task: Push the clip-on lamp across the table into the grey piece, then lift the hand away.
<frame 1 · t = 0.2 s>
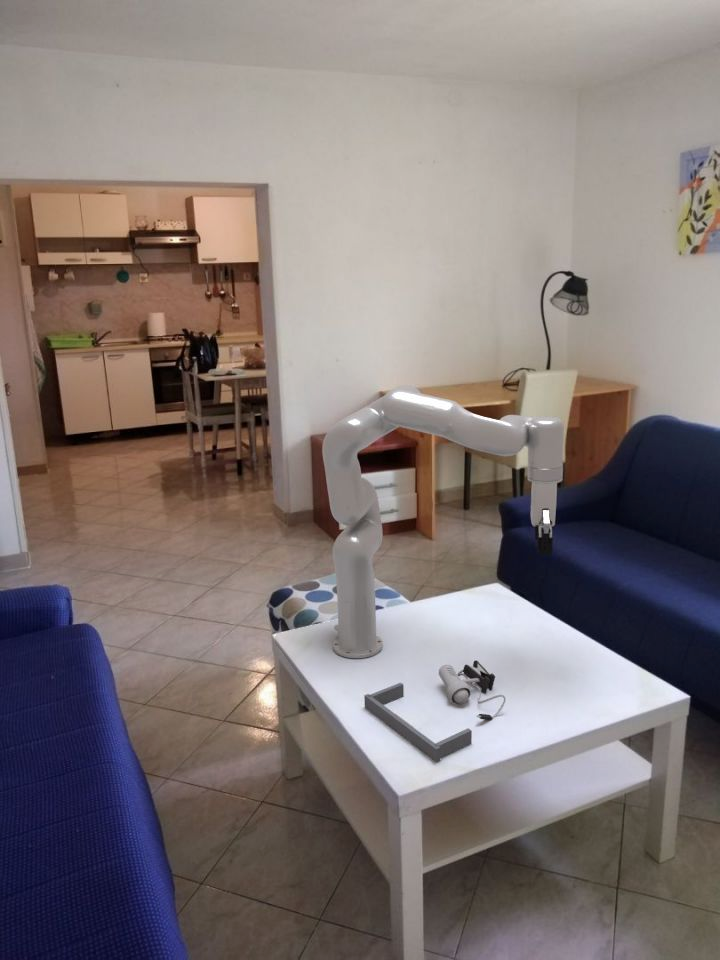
hand: (543, 546, 166), 30 cm above the table, tool pointing down, fingers open, 9 cm apart
grey piece: (430, 719, 154), on the table
clip-on lamp: (474, 702, 160), on the table
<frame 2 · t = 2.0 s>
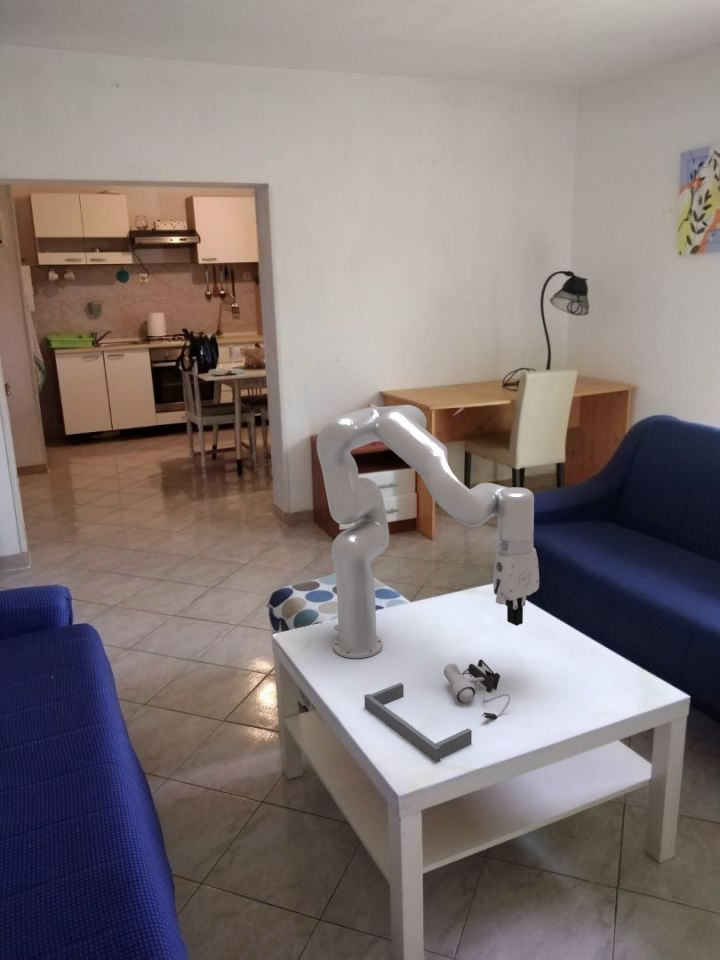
hand: (514, 622, 163), 15 cm above the table, tool pointing down, fingers closed
clip-on lamp: (478, 701, 161), on the table
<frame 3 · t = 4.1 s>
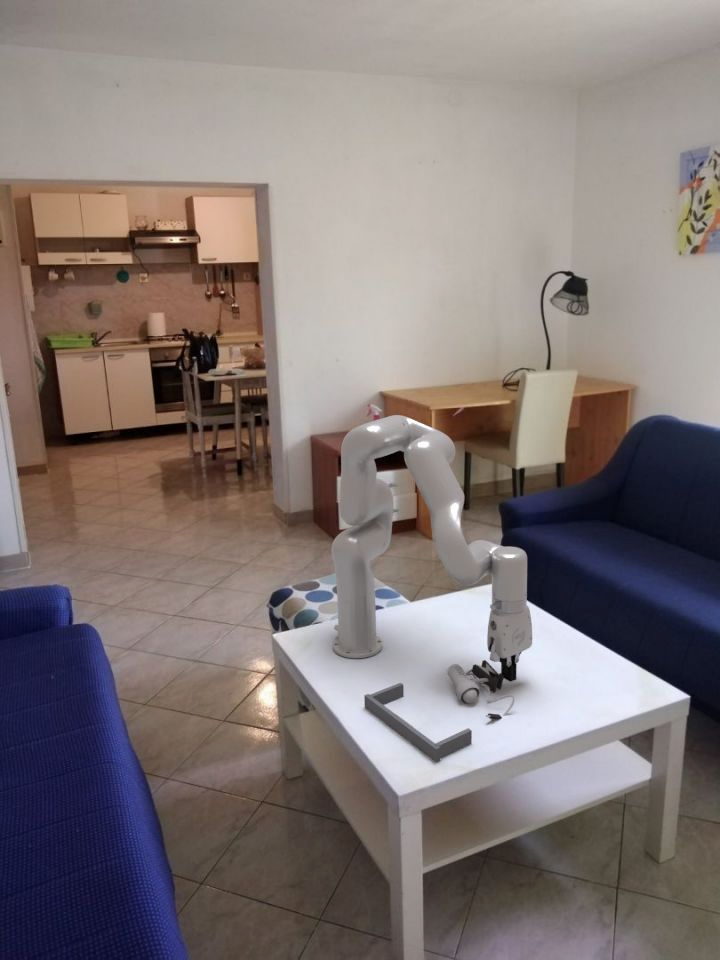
hand: (508, 678, 165), 2 cm above the table, tool pointing down, fingers closed
nothing on the table moved.
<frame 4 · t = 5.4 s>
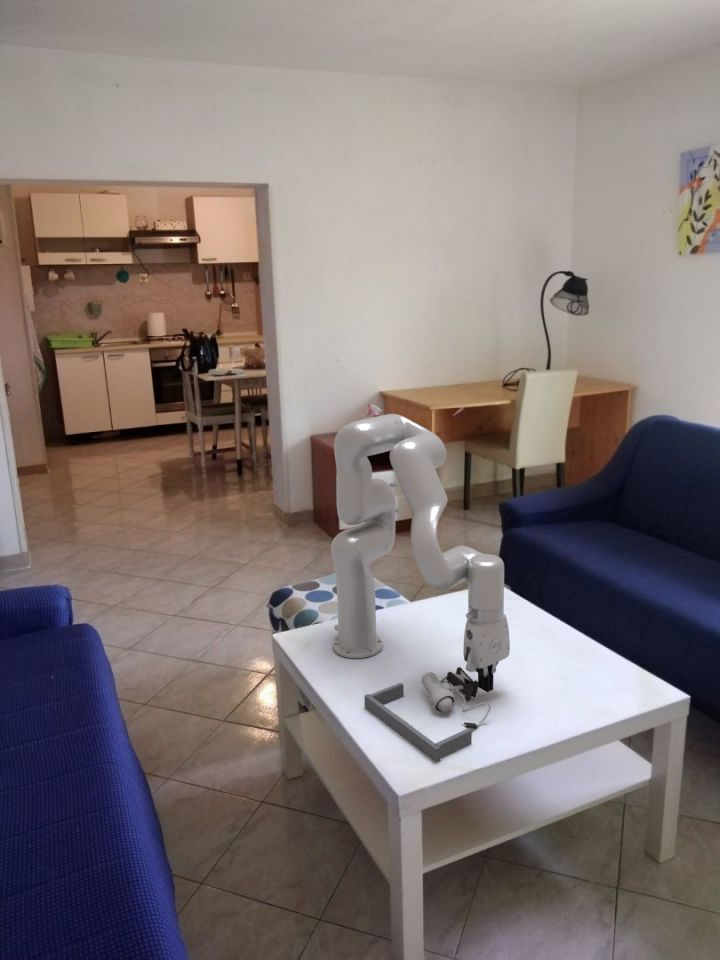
hand: (485, 688, 161), 2 cm above the table, tool pointing down, fingers closed
clip-on lamp: (458, 710, 157), on the table, touching gripper
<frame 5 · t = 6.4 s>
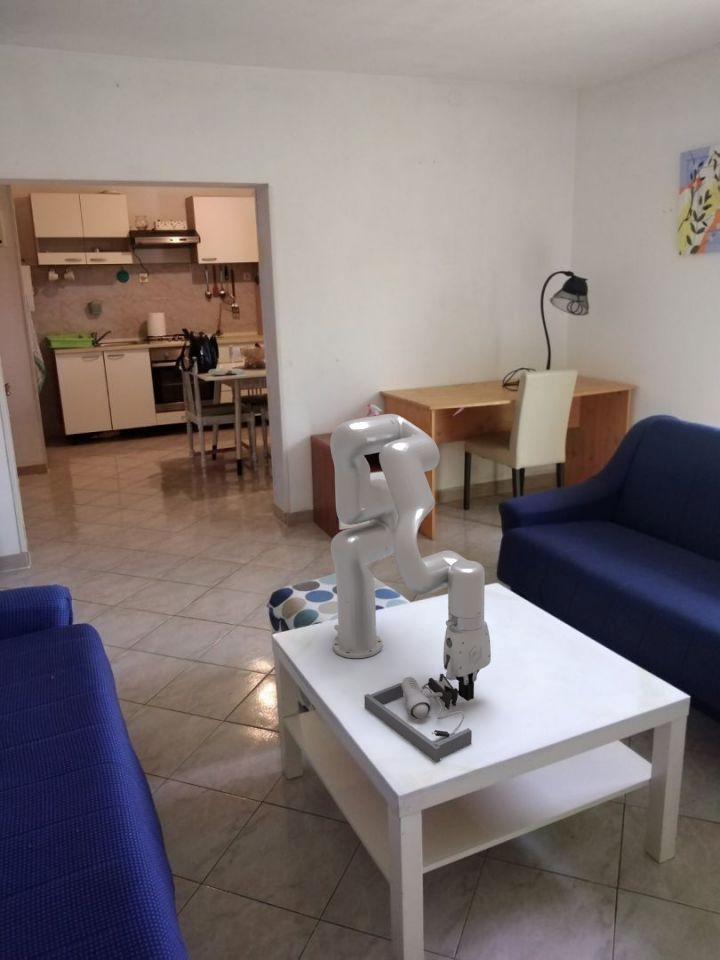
hand: (466, 697, 158), 2 cm above the table, tool pointing down, fingers closed
clip-on lamp: (435, 717, 155), on the table, touching gripper
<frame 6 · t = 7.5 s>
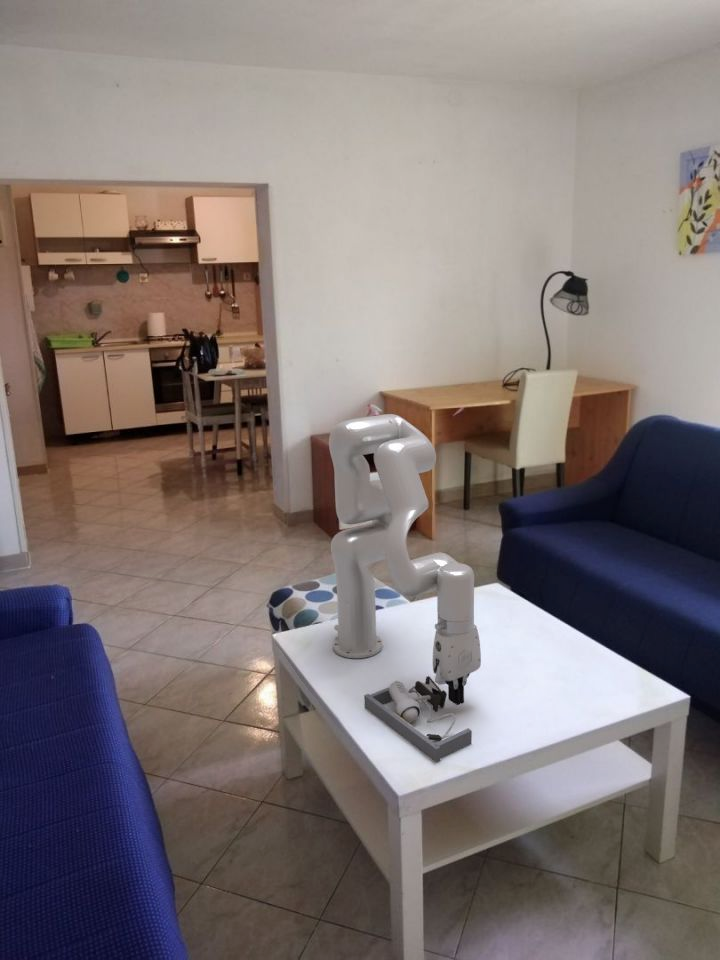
hand: (456, 701, 156), 2 cm above the table, tool pointing down, fingers closed
clip-on lamp: (424, 720, 154), on the table, touching grey piece, gripper
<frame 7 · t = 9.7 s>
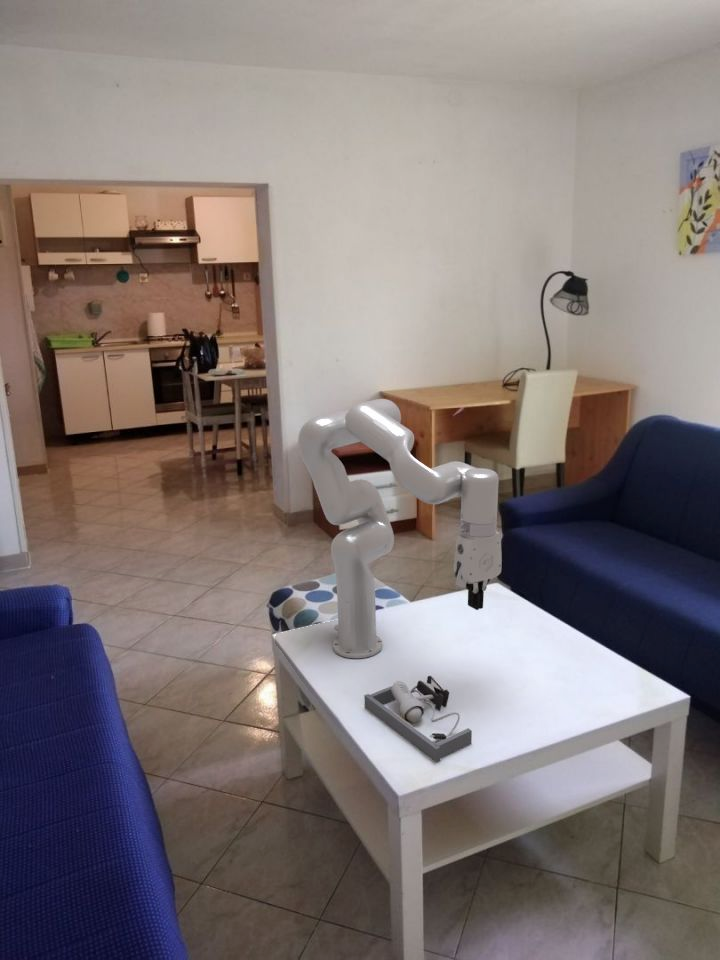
hand: (475, 606, 159), 20 cm above the table, tool pointing down, fingers closed
clip-on lamp: (427, 720, 154), on the table
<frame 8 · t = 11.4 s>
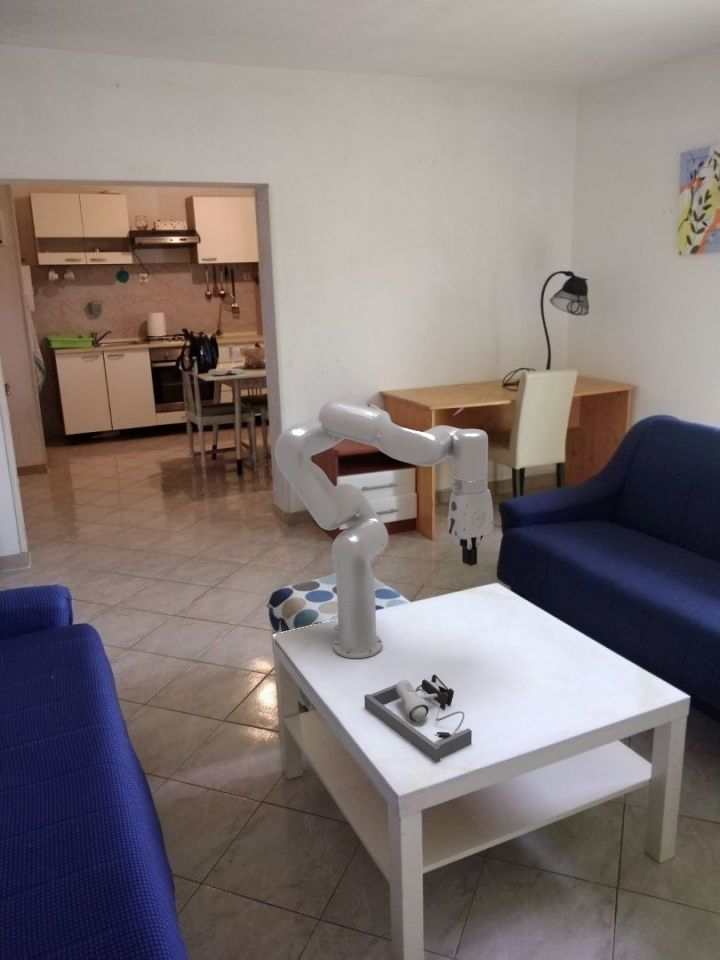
hand: (469, 563, 166), 27 cm above the table, tool pointing down, fingers closed
clip-on lamp: (432, 718, 155), on the table
at the end: clip-on lamp 1.6 cm off-centre on the grey piece, point 0.0 cm above the grey piece's base; clip-on lamp moved 11.0 cm from its start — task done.
